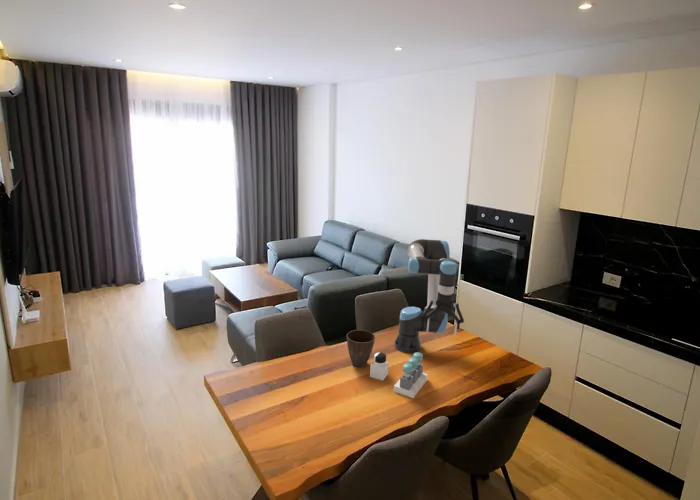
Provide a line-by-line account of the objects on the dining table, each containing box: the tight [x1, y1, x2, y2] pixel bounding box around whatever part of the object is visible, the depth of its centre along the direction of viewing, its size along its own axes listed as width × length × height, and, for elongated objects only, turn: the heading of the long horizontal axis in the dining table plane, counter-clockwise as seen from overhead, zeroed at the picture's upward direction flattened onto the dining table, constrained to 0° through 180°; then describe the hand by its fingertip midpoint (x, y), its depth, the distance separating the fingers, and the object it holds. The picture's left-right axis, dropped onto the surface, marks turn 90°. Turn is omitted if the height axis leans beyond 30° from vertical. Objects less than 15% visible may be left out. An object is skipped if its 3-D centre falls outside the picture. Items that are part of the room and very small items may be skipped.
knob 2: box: [407, 357, 418, 373], centre depth 209 cm, size 5×5×8 cm
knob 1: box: [402, 362, 413, 379], centre depth 203 cm, size 5×5×8 cm
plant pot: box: [346, 329, 376, 368], centre depth 227 cm, size 15×15×16 cm
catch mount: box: [393, 363, 429, 399], centre depth 210 cm, size 10×19×8 cm, turn 150°
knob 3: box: [412, 351, 424, 367], centre depth 214 cm, size 5×5×8 cm
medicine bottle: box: [369, 352, 389, 382], centre depth 217 cm, size 7×7×12 cm
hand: (441, 332), depth 215 cm, fingers open, 13 cm apart
